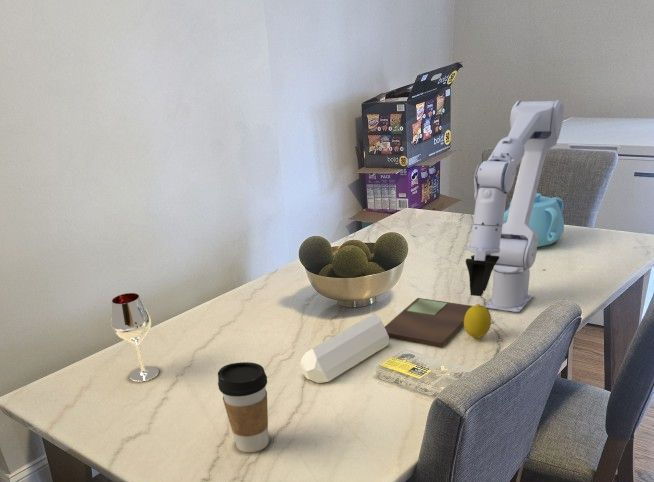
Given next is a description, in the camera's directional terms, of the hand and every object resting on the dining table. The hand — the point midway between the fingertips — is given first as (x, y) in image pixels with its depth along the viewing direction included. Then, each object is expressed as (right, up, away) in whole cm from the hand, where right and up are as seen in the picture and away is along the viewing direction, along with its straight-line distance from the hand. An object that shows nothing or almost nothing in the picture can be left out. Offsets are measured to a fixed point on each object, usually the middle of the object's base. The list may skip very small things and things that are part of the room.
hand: (478, 292), depth 142 cm
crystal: (-27, -14, +4) cm, 30 cm away
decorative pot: (+30, +23, +51) cm, 63 cm away
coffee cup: (-46, -31, -18) cm, 58 cm away
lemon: (+1, -9, +6) cm, 11 cm away
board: (-7, -4, +15) cm, 17 cm away
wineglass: (-71, -16, +9) cm, 73 cm away
